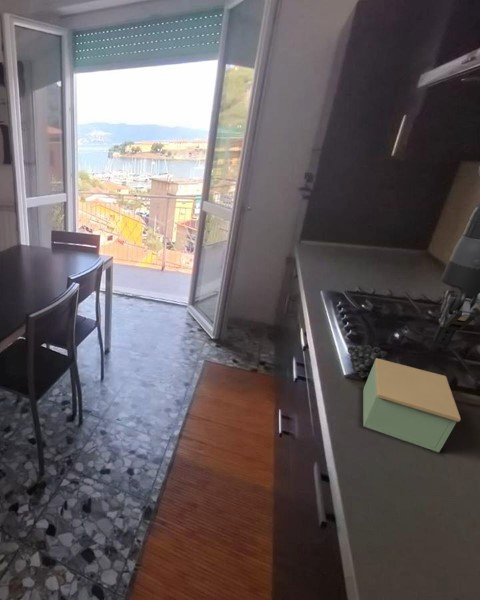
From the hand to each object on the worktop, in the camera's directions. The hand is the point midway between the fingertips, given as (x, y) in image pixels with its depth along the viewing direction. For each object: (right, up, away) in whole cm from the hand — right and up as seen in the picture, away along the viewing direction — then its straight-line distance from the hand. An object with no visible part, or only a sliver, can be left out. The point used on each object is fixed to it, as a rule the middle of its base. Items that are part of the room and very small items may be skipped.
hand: (440, 342), depth 72 cm
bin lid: (-1, -11, +6) cm, 12 cm away
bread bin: (0, -18, +10) cm, 21 cm away
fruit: (+5, -11, +26) cm, 29 cm away
